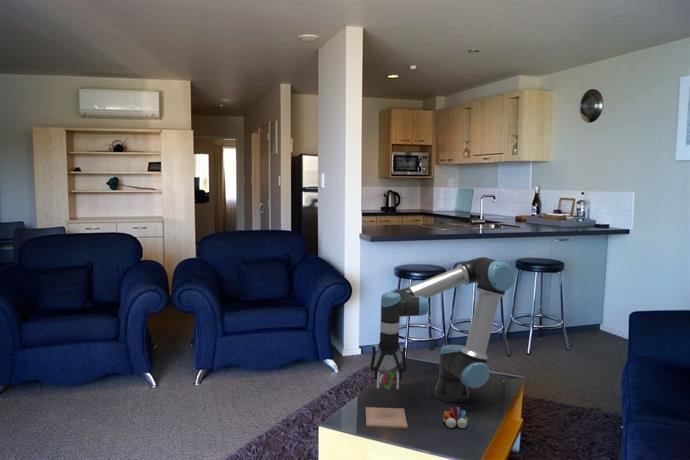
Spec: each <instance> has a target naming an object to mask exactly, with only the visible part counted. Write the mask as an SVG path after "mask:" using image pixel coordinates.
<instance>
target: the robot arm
mask: <svg viewBox="0 0 690 460" xmlns="http://www.w3.org/2000/svg"><path fill="white" fill-rule="evenodd" d="M514 282H515V273H514V271H513V268H512V266H510V264H508V263H506V262H504V261H501V260H497V259H494V258H489V257H485V256H481V257H476V258H472V259H470V260H467V261H464V262H462V263H459V264H457V265H456V267H454V268H452V269H450V270H448V271H446V272H443V273H440V274H437V275H435V276H433V277H430V278H427V279H425V280H422V281H420V282H417V283H415V284H412V285H410V286H408V287H404V288H402V289H400V288H393V289H391V290H390V291H389V292H384V293H382V295H381V300H380V327H379V329H380V330H379V331H380V332H379V342H378V344H372V345H371V348H372V350H371V351H372V354H371V360H370V364H369V370H370V371H371V372H374V373H373V374H374V380H375V381H376V388H377V389H379V388H380V381H379V377H380V370H379V369H380V367H381V364H382V362H383V361H384V358H385V357H386V356H393V359H394V361H395V365H396V367H397V369H398V370H396V375H395V376H396V381H395V383H396V384H395V387H396V390H399V387H400V386H399V385H400V381H402V377H403V372H407V360H406V352H407V347H406V345H400V343H399V342H400V333H399V332H400V319H401V317H402V318H403V317H420V316H425V315H427V314H428V312H429V308H430V305H429V300H428V299H429V298H431V297H434V296H437V295H438V294H439V295H440V294H441V293H443V292H446V291H449V290H451V289H454V288H456V287H459V286H461V285H464V286H468V285H470V284H477V285H476V289H477V291H478V296H477V300H476V303H475V308H474V311H473V315H472V318H471V319H472V320H471V324H470V327H469V332H468V335H467V337H466V338H467V339H466V342H465V345H461V344H445V345H443V346H441V348H440V353H439V375H438V377H439V378H438V380H437V383H436V384H435V387H434V396H435V398H437V399H439V400H441V401H444V402H446V403H447V402H448V403H464V402H466V401H468V400H469V398H470V397H469V396H470V392H469V388H471V389H478V388H481V387H482V386H484V385H485V384H487V382H488V380H489V379H490V374H491V373H490V369H489V366H488V360H489V357H488V356H487V348H488V344H489V341H490V338H491V337H490V336H491V334H492V328H493V325H494V321H495V318H496V313H497V309H498V306H499V302H500V299H501V298H502V297H505V294H506V291H508V290H509V289H510V288H512V286H513V285H514ZM378 350H379V351H380V354H379V357H378V359H377V362H376V364H375V360H376V355H377V351H378ZM398 350H400V352H401V360H402V366H401V364H400V361H399V358H398V356H397V355H398V354H397V352H398ZM397 383H398V385H397Z"/></svg>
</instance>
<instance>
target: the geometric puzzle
mask: <svg viewBox="0 0 690 460" xmlns="http://www.w3.org/2000/svg"><path fill="white" fill-rule="evenodd" d="M396 376H397V375H396V374H395V373H393V372H391V371H389V370H388V371H387V373H381V374H379V384H380V385H381V386H382V388H384V389H386V390H387V391H390V390H392V389H393V388H394V387H395V385H396ZM397 385H398V383H397Z"/></svg>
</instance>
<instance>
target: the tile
mask: <svg viewBox="0 0 690 460" xmlns="http://www.w3.org/2000/svg"><path fill="white" fill-rule="evenodd" d="M365 423H366V427H368V428H369V427H370V428H371V427H372V428H374V427H375V428H391V429H392V428H396V429H397V428H398V429H408V427H409V426H408V423H407V418H406V413H405V408H402V407H401V408H395V407H372V406H371V407H370V406H368V407H367V406H365Z"/></svg>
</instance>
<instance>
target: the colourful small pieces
mask: <svg viewBox="0 0 690 460" xmlns="http://www.w3.org/2000/svg"><path fill="white" fill-rule="evenodd" d="M449 410H450V411H447V410H445V411H444V412H443V418H442V422H443V423H445V425H446V426H447V427H448V428H450V429H453V428H455V427H456V426H457V428H460V429H465V428H466V427H467V426H468V420H469V419H468V417H467V416H466V414H467V412H466V411H465V410H462V409H460V407H459V406H456V407H455V409H453V407H449Z"/></svg>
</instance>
